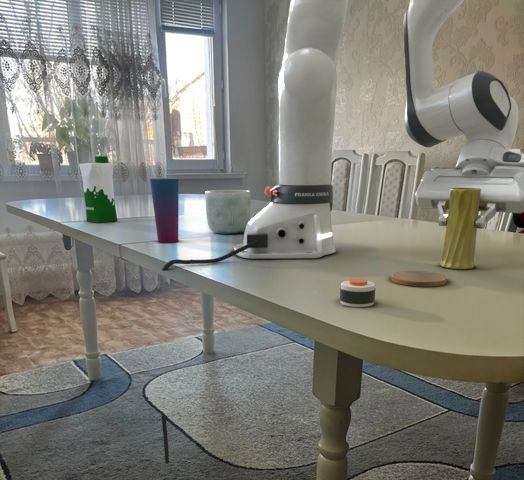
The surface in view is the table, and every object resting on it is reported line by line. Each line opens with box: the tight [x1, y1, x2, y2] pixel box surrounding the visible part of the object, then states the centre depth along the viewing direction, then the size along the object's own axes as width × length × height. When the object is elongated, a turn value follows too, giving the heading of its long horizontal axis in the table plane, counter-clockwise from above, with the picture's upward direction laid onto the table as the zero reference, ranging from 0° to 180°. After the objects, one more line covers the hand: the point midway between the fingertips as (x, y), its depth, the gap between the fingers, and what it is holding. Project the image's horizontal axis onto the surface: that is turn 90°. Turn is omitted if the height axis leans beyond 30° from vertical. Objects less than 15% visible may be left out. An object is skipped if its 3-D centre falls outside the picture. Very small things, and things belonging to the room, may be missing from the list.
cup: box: [149, 177, 179, 244], centre depth 133 cm, size 7×7×15 cm
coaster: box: [391, 270, 448, 288], centre depth 92 cm, size 9×9×1 cm
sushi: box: [339, 278, 376, 308], centre depth 78 cm, size 5×5×3 cm
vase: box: [440, 188, 481, 270], centre depth 101 cm, size 6×6×14 cm
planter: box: [204, 189, 252, 235], centre depth 148 cm, size 12×12×11 cm
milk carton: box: [78, 155, 118, 224], centre depth 174 cm, size 9×9×20 cm
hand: (461, 225), depth 100 cm, fingers closed on vase, 5 cm apart
